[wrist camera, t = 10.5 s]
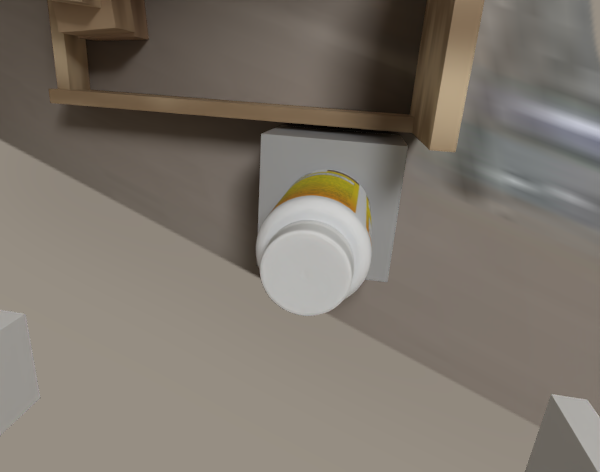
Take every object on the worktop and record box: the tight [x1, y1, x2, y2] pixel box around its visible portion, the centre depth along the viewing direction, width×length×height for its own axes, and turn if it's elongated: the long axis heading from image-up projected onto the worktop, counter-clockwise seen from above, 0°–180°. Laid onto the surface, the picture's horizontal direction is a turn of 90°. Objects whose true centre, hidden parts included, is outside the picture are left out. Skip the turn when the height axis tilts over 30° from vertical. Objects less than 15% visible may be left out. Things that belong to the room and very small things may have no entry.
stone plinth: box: [257, 125, 408, 282], centre depth 30 cm, size 9×9×7 cm
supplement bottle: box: [256, 169, 372, 316], centre depth 22 cm, size 6×6×10 cm
